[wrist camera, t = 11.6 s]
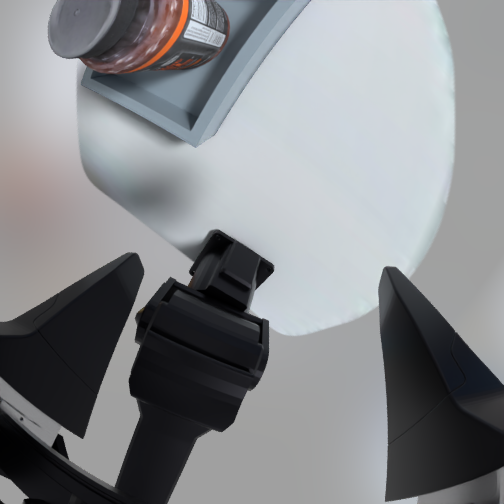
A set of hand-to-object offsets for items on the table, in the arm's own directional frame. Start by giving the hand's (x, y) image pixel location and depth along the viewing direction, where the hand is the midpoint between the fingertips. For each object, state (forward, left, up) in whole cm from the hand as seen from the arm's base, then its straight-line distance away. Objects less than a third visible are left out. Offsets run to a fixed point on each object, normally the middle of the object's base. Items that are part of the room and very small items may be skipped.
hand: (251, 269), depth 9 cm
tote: (+5, +11, -13) cm, 18 cm away
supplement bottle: (+5, +11, -12) cm, 17 cm away
